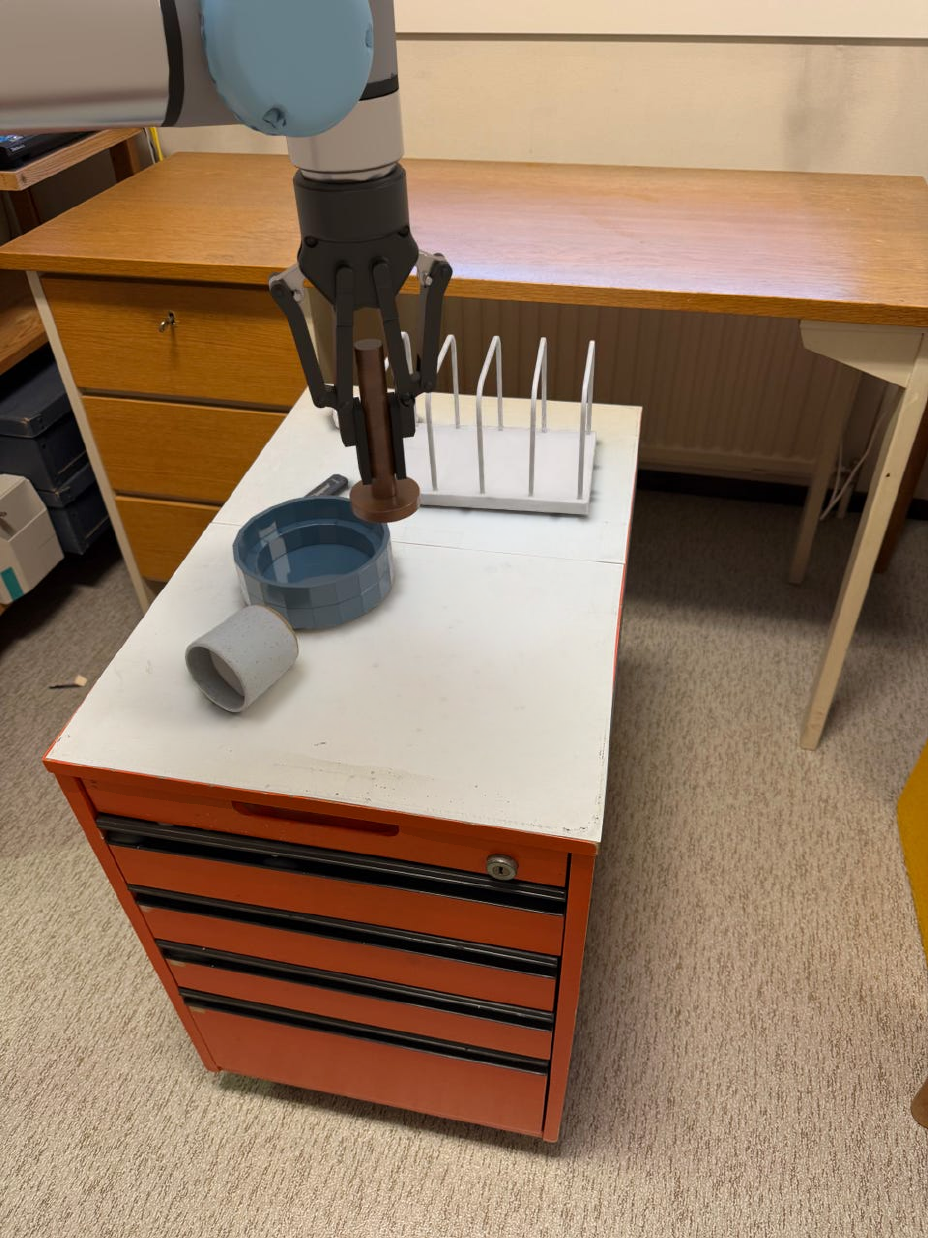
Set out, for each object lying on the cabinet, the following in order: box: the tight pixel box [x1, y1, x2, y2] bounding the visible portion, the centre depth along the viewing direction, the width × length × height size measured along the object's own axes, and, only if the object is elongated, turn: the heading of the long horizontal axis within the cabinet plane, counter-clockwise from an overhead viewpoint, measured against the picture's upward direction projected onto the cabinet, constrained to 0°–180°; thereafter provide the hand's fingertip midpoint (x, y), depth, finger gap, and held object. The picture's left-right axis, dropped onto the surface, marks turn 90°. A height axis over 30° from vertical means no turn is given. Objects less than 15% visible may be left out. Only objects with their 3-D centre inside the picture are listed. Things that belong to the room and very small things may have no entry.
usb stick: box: [303, 473, 349, 497], centre depth 107 cm, size 10×3×2 cm, turn 148°
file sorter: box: [384, 331, 597, 515], centre depth 106 cm, size 25×17×16 cm
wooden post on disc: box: [348, 338, 421, 524], centre depth 71 cm, size 6×6×14 cm
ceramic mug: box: [184, 604, 300, 713], centre depth 82 cm, size 11×8×8 cm
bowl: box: [231, 495, 395, 630], centre depth 94 cm, size 16×16×6 cm
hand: (382, 473), depth 73 cm, fingers closed on wooden post on disc, 2 cm apart
